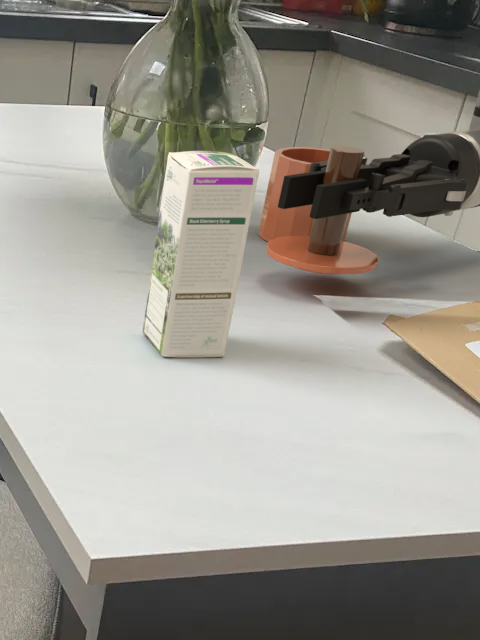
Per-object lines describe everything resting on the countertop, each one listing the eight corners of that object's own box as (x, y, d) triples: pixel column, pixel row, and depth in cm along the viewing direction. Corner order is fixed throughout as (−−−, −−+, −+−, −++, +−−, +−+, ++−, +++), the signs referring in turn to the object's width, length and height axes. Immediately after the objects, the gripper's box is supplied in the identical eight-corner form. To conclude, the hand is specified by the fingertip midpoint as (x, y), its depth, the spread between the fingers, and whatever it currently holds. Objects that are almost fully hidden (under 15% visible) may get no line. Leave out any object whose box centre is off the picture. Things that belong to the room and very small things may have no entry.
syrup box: (226, 358, 88) (265, 167, 79) (158, 358, 87) (190, 165, 78) (203, 333, 93) (238, 150, 84) (138, 333, 92) (166, 148, 83)
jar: (249, 225, 123) (265, 145, 118) (328, 229, 124) (348, 149, 119) (271, 249, 116) (289, 164, 111) (355, 252, 116) (377, 168, 111)
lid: (252, 245, 108) (275, 134, 102) (354, 250, 109) (383, 140, 102) (280, 278, 99) (308, 159, 93) (391, 283, 100) (425, 165, 94)
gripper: (503, 232, 107) (361, 263, 95) (369, 194, 116) (225, 219, 104) (532, 150, 102) (386, 172, 90) (389, 118, 112) (241, 134, 100)
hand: (300, 197), depth 97 cm, fingers closed on lid, 3 cm apart
